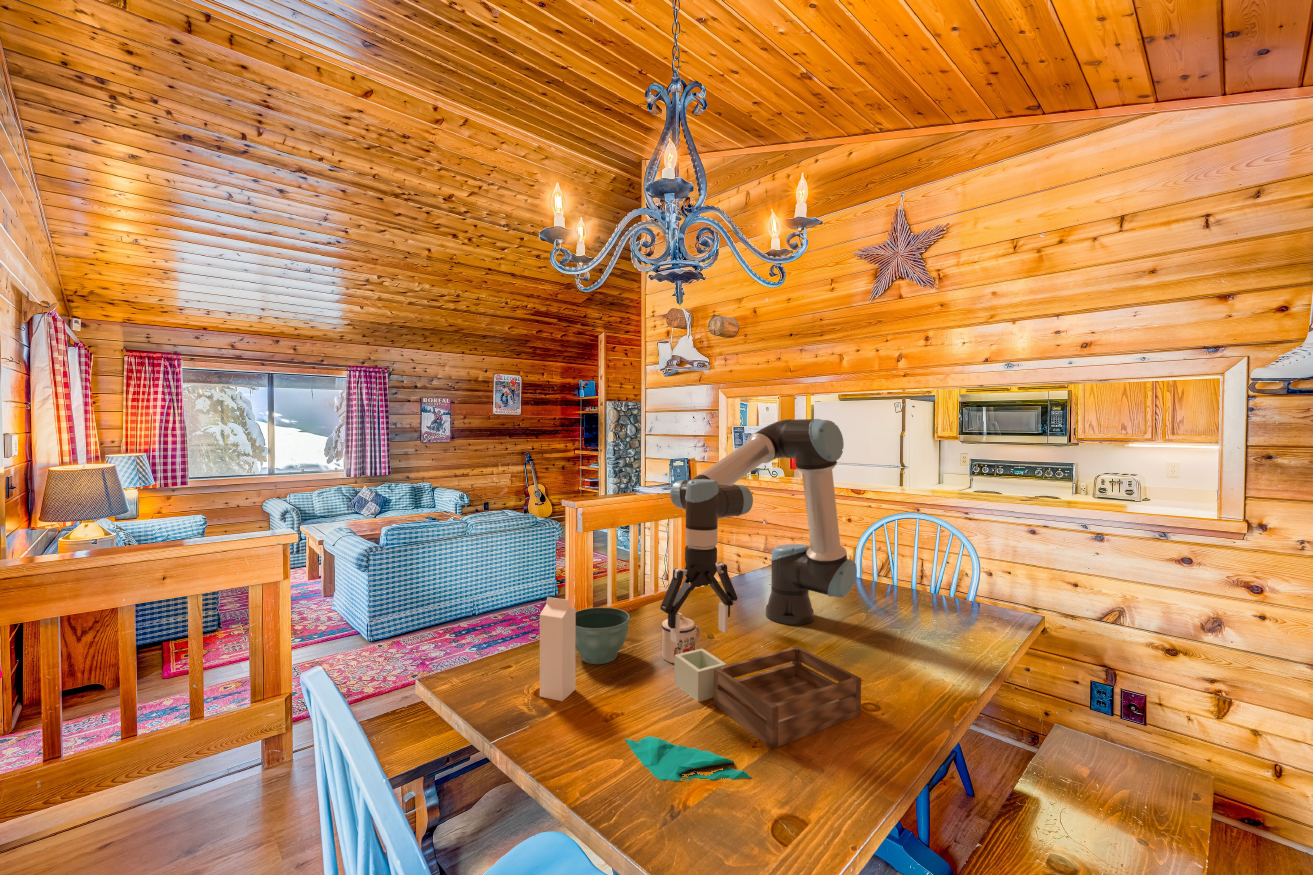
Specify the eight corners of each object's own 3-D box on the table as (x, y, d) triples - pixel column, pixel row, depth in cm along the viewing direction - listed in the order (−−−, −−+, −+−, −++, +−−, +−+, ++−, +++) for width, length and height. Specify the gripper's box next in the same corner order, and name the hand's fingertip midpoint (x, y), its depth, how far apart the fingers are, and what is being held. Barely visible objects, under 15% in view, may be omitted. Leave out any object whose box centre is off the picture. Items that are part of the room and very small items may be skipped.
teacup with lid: (675, 667, 138) (675, 622, 138) (654, 655, 145) (654, 612, 145) (710, 656, 145) (711, 613, 145) (689, 644, 152) (689, 603, 152)
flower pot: (556, 656, 144) (556, 616, 144) (603, 640, 155) (603, 602, 155) (593, 677, 132) (593, 633, 132) (641, 657, 144) (642, 617, 144)
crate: (796, 678, 133) (797, 645, 132) (860, 714, 116) (861, 677, 116) (713, 704, 120) (713, 668, 120) (771, 749, 104) (772, 707, 103)
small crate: (701, 676, 134) (702, 648, 134) (726, 693, 125) (726, 664, 125) (674, 683, 130) (674, 654, 130) (697, 702, 121) (698, 671, 121)
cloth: (603, 754, 103) (603, 742, 103) (649, 723, 114) (649, 712, 114) (721, 817, 87) (721, 803, 87) (761, 773, 98) (761, 761, 97)
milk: (553, 685, 129) (553, 592, 128) (575, 689, 126) (576, 595, 126) (539, 697, 123) (539, 600, 122) (562, 702, 121) (562, 603, 120)
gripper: (733, 538, 136) (732, 622, 136) (646, 547, 124) (645, 639, 124) (753, 543, 129) (751, 632, 130) (663, 554, 117) (661, 651, 117)
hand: (699, 636), depth 127 cm, fingers open, 13 cm apart
